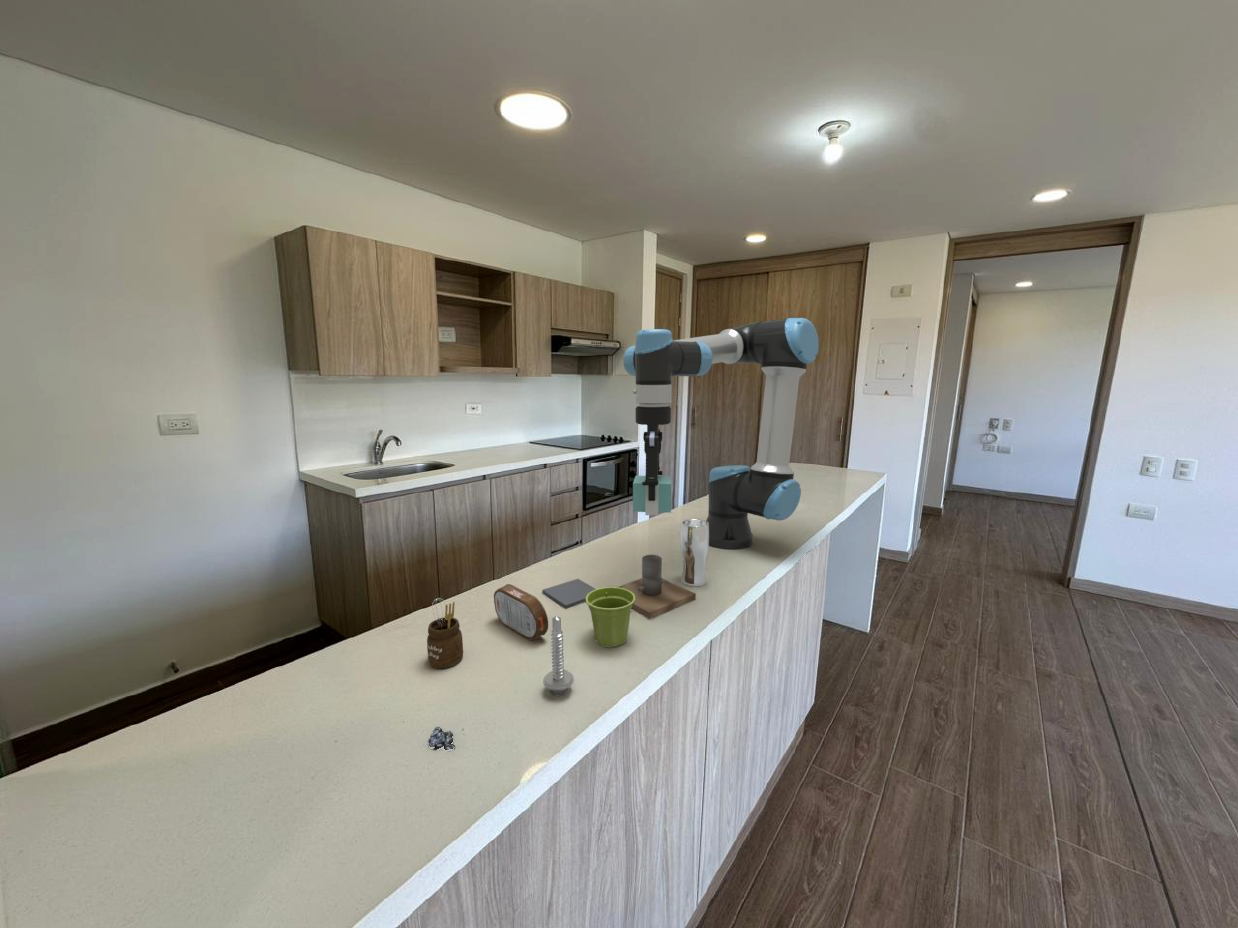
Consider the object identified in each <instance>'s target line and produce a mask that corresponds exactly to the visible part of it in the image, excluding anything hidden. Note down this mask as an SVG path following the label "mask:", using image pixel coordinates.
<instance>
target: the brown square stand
mask: <svg viewBox="0 0 1238 928" xmlns="http://www.w3.org/2000/svg"><path fill="white" fill-rule="evenodd" d="M662 562H663V558H662V557H661V556H660V555H658V554H646V555H643V556H642V557H641V578H638V579H636V580H633V581H630V582H627V583H625V584H621V585H619V586H617V587H619V588H624V589H627V590H629V591H631V592H632V593H633V594H634V595H635V601H634V603H633V605H632V608H631V611H632V610H633V611H634V612H636V613H638V614H640V615H642V616H643V617H644V618H647V619H648V620H652V619H654V618H656V617H658V616H660V615H663V614H667V613H668V612H670V611H672V610H675V609H677V608H679V607H682V606H684V605H687V604H690V603H691V602H693V601H696V600H697V597H696V596H697V594H696V592H693V591H691V590H689V589H686V588H684V587H683V586H680V585H678V584H677V583H673V582H671V581H669V580H667V579H665V578H664V577H662V570H663V568H662V567H663V563H662Z"/></svg>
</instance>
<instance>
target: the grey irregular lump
mask: <svg viewBox="0 0 1238 928" xmlns="http://www.w3.org/2000/svg"><path fill="white" fill-rule="evenodd" d="M442 730H443V729H442V728H441V727H440V726H436V727H434V729H433V730H432V732H433V733H432V732H431V734H430V735H429V737H430V738H428V740H427V743H428V742H429V746H430V747H435V749H434V750H436V749H439V748H441V747H443V746H444V749H445V750H449V749H453V748H454V747H455V748H456V745H455V744H454V742H453V739H454V733H453V732H452V731H451V730H448V731H444V730H443V731H442ZM452 736H453V738H452ZM452 742H453V744H451V743H452ZM429 746H428V747H429Z"/></svg>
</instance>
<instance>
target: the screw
mask: <svg viewBox="0 0 1238 928" xmlns="http://www.w3.org/2000/svg"><path fill="white" fill-rule="evenodd" d="M551 620H552V621H551V622H552V623H551V624H552V629H551V635H550V636H551V642H550V643H551V657H552V658H551V665H552V666H551V668H552V670H551V671H550V672H548V673H546V675H544V677H543V681H542V683H543V686H544V687H545V689H547V690H549V692H550V693H551V694H552V695H553V696H555V697H558V696H565V694H566V692H567V691H568V688H570V687H571V686H572V685H573V683H574V681H575V677H574V675H573V673H572V672H570V671H568V670H565V669H564V668H565V666H564V665H565V663H564V662H565V660H564V657H565V656H564V654H565V653H564V635H563V633H564V632H563V630H562V618H561V617H559V616H558V615H555V616H553V617H552V619H551Z"/></svg>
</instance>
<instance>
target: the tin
mask: <svg viewBox="0 0 1238 928" xmlns="http://www.w3.org/2000/svg"><path fill="white" fill-rule="evenodd" d="M493 603H494V609H495V613H496V615H497V617H498V618H499V620H500V622H501V623H502V624H503V625H504V626H505V625H506V626H505V627H507V628H508V629H510V630H512V631H514V632H515V633H517V634H518V635H521V636H522V637H524V638H525V639H527V640H530V641H533V640H536V639H538V638H540V637H542V636H544V635H546V633H547V632H548V630H549V618H548V615H547V612H546V610H545V607H544V605H543V604H542V602H541V601H540V600H539V599H538V597H536V596H534V595H532V593H529V592H527V591H525V590H522V589H521V588H519V587H517V586H515V585H513V584H511V583H507V584H505V585H504V586H502V587H499V588H497V589H496V590H495V591H494V593H493Z"/></svg>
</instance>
